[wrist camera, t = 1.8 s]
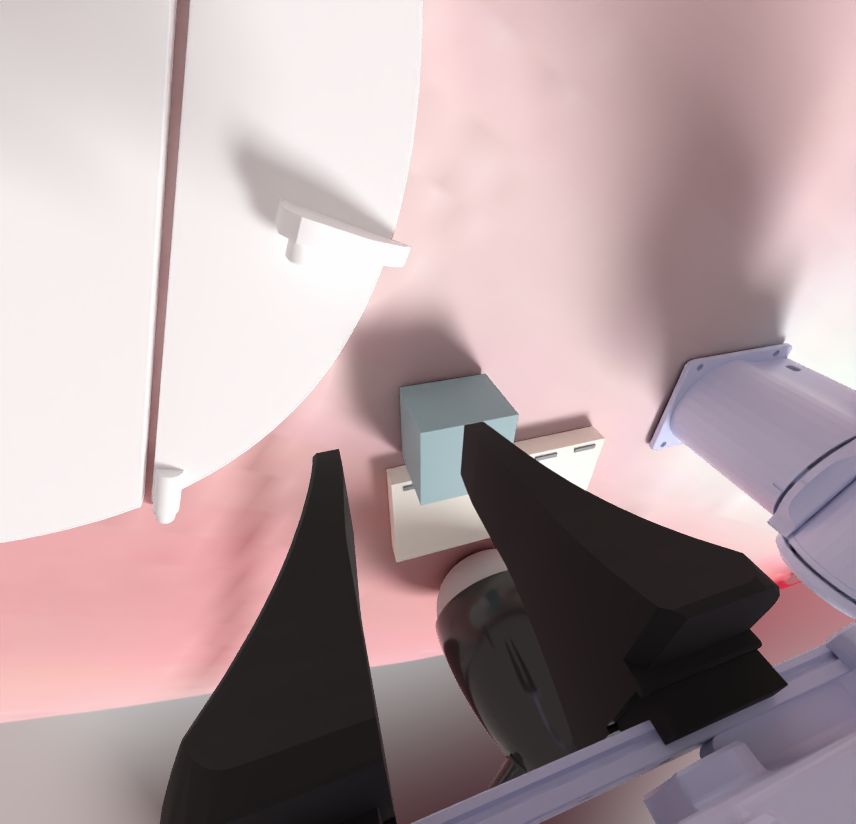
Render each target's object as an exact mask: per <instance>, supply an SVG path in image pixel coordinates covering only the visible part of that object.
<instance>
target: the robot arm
mask: <svg viewBox="0 0 856 824" xmlns="http://www.w3.org/2000/svg"><path fill="white" fill-rule="evenodd" d="M791 350H792V346H791V345H789V344H787V343H785V344H779V345H773V346H767V347H762V348H756V349H750V350H745V351H739V352H733V353H727V354H722V355H716V356H710V357H704V358H699V359H693V360H690V361H689V362H687V364H686V365H685V366H684V369H683V371H682V373H681V375H680V378H679V380H678V382H677V384H676V386H675V389H674V391H673V393H672V395H671V398H670V400H669V402H668V404H667V406H666V409H665V411H664V413H663V415H662V418H661V420H660V422H659V424H658V427H657V429H656V431H655V433H654V435H653V438H652V440H651V442H650V445H649V446H650V448H651V449H653V450H658V449H662V448H666V447H671V446H675V445H679V444H683V443H684V444H685V445H686V446H688V447H689V448H690V449H691V450H693V451H694V452H695V453H696V454H698V455H699V456H700V457H701V458H703V459H704V460H705V461H706V462H707V463H709V464H710V465H711V466H712V467H714V468H715V469H716V470H717V471H719V472H720V473H721V474H722V475H724V476H725V477H726V478H727V479H729V480H730V481H731V482H732V483H734V484H735V485H736V486H737V487H739V488H740V489H741V490H742V491H744V492H745V493H746V494H747V495H749V496H750V497H751V498H752V499H753V500H755V501H756V502H757V503H758V504H760V505H761V506H762V507H763V508H765V509H766V510H767V511H768V512H770V513H771V514H772V515H773V516H772V517H771V518H770V519H769V520H768V522H767V523H768V524H769V525H770V526H772V527H773V528H774V529H775V530H776V531H778V532H779V534H778V535H777V537H776V544H777V547H778V549H779V551H780V555H781V557H782V559H783V561H784V562H785V564H786V565H787V566H788V568H789V569H790V570H791V571H792V572H793V574H794V575H795V576H796V577H798V579H799V580H800V581H801V582H802V583H804V584H805V585H806V586H807V587H808V588H809V589H810V590H812V591H813V592H814V593H815V594H817V595H818V596H819V597H820V598H822V599H823V600H824V601H826V602H827V603H829V604H830V605H832V606H833V607H835V608H836V609H838V610H839V611H841V612H843V613H844V614H846V615H848V616H850V617H852V618H854V619H855V620H856V391H855V390H853V389H851V388H849V387H847V386H845V385H843V384H841V383H838V382H836V381H834V380H832V379H830V378H828V377H826V376H824V375H822V374H820V373H817V372H815V371H813V370H811V369H809V368H807V367H805V366H803V365H801V364H799V363H796V362H794V361H792V360H790V359H788V358H787V356H788V355H789V353H790V351H791ZM460 474H461V477H462V480H463V482H464V485H465V488H466V490H467V493H468V495H469V498H470V500H471V503H472V505H473V506H474V508H475V510H476V512H477V514H478V516H479V518H480V520H481V521H482V523H483V525H484V527H485V529H486V531H487V532H488V534H489V536H490V538H491V540H492V541H493V543H494V545H495V547H496V549H497V551H498V552H499V554H500V556H501V558H502V560H503V561H504V563H505V565H506V567H507V569H508V571H509V573H510V575H511V577H512V579H513V582H514V584H515V586H516V589H517V591H518V593H519V596H520V598H521V600H522V603H523V605H524V607H525V610H526V612H527V615H528V617H529V620H530V622H531V625H532V627H533V630H534V632H535V635H536V637H537V640H538V642H539V645H540V647H541V650H542V653H543V655H544V658H545V661H546V663H547V666H548V669H549V671H550V674H551V677H552V679H553V682H554V685H555V688H556V691H557V694H558V696H559V699H560V702H561V705H562V708H563V711H564V714H565V717H566V719H567V722H568V725H569V729H570V732H571V735H572V738H573V741H574V743H575V745H576V747H577V749H578V751H576V752H574V753H572V754H569V755H567V756H565V757H563V758H560V759H558V760H556V761H553V762H551V763H549V764H546V765H544V766H542V767H540V768H537V769H535V770H533V771H530V772H528V773H526V774H523V775H521V776H519V777H517V778H514V779H512V780H510V781H507V782H505V783H503V784H500V785H498V786H496V787H494V788H491V789H489V790H487V791H484V792H482V793H480V794H478V795H475V796H473V797H471V798H468V799H466V800H464V801H461V802H459V803H457V804H455V805H452V806H450V807H448V808H445V809H443V810H441V811H438V812H436V813H434V814H432V815H429V816H427V817H425V818H422V819H420V820H418V821H415V822H413V823H411V824H539V823H540V822H543V821H545V820H547V819H549V818H551V817H553V816H555V815H558V814H560V813H562V812H564V811H566V810H568V809H570V808H572V807H574V806H577V805H579V804H581V803H583V802H585V801H587V800H589V799H591V798H594V797H595V796H598V795H600V794H602V793H604V792H606V791H608V790H610V789H613V788H615V787H617V786H619V785H621V784H623V783H625V782H627V781H629V780H632V779H634V778H636V777H638V776H640V775H642V774H644V773H646V772H648V771H651V770H653V769H655V768H657V767H659V766H661V765H663V764H665V763H667V762H670V761H671V760H674V759H676V758H678V757H680V756H682V755H684V754H686V753H688V752H691V751H693V750H695V749H697V748H699V747H701V746H702V747H701V748H700V757H701V759H700V760H698V761H697V762H695V763H693V764H691V765H689V766H687V767H686V768H684V769H682V770H680V771H678V772H677V773H675V774H674V775H673V776H672V777H671V778H670V779H669V780H667V781H666V782H664V783H663V784H662V785H660V786H658V787H657V788H655V789H654V790H652V791H650V792H649V793H647V794H646V795H644V803H645V804H646V806H647V808H648V810H649V812H650V814H651V815H652V817H653V819H654V821H655V823H656V824H856V622H854V623H852V624H849V625H847V626H846V627H844V628H842V629H841V630H839V631H838V632H836V633H835V634H833V635H832V636H831V637H830V638H829V639H827V640H826V643H825V644H822V645H820V646H818V647H815V648H813V649H811V650H808V651H806V652H804V653H802V654H799V655H797V656H795V657H792V658H790V659H788V660H786V661H783V662H781V663H779V664H776V665H774V666H771V665H770V663H769V662H768V661H767V660H766V659H765V658H764V657H763V656H762V654H761V653H760V652H759V651H758V650H757V649H758V648H760V647H761V646H762V643H761V641H760V640H759V639H758V638H757V636H756V635H755V634H754V633H753V632H752V631H751V630H750V628H751V627H752V626H753V625H754V624H755V623H756V622H757V621H758V620H759V619H760V618H761V617H762V616H763V615H764V614H765V613H766V612H767V611H768V610H769V609H770V608H771V607H772V606H773V605H774V604H775V602H776V601H777V600H778V598H779V596H780V594H779V586H778V585H776V584H775V583H774V582H773V581H772V580H771V579H770V578H769V577H768V576H767V575H766V574H765V573H764V572H763V571H762V570H760V569H759V568H758V567H757V566H756V565H755V564H754V563H753V562H752V561H751V560H750V559H749V558H748V557H747V556H745V555H744V554H743V553H740V552H737V551H734V550H731V549H728V548H725V547H721V546H718V545H715V544H712V543H709V542H705V541H702V540H699V539H696V538H693V537H690V536H687V535H685V534H682V533H679V532H677V531H674V530H671V529H669V528H666V527H663V526H661V525H658V524H656V523H653V522H651V521H648V520H646V519H644V518H641V517H639V516H637V515H635V514H632V513H630V512H628V511H626V510H623V509H621V508H619V507H617V506H615V505H613V504H611V503H609V502H607V501H605V500H603V499H601V498H599V497H597V496H595V495H593V494H591V493H589V492H588V491H586V490H584V489H582V488H580V487H578V486H577V485H575V484H573V483H572V482H570V481H568V480H567V479H565V478H563V477H562V476H560V475H559V474H557V473H555V472H554V471H552V470H551V469H549V468H548V467H546V466H544V465H543V464H541V463H540V462H539V461H537V460H536V459H534V458H533V457H531V456H530V455H528V454H527V453H526V452H524V451H523V450H521V449H520V448H519V447H517V446H516V445H515V444H513V443H512V442H510V441H509V440H508V439H506V438H505V437H504V436H502V435H501V434H500V433H498V432H497V431H496V430H494V429H493V428H492V427H490V426H489V425H487V424H486V423H485V422H478V423H472V424H467V425H464V435H463V448H462V460H461V473H460ZM160 824H397V823H396V818H395V812H394V803H393V798H392V792H391V787H390V781H389V775H388V769H387V763H386V758H385V753H384V747H383V741H382V735H381V730H380V724H379V718H378V713H377V707H376V701H375V695H374V690H373V684H372V678H371V673H370V667H369V661H368V655H367V650H366V644H365V638H364V633H363V627H362V620H361V612H360V603H359V591H358V580H357V568H356V557H355V545H354V534H353V527H352V521H351V515H350V509H349V503H348V497H347V491H346V485H345V479H344V473H343V467H342V462H341V457H340V452H339V449H337V450H331V451H326V452H321V453H316V454H315V455H314V457H313V465H312V473H311V479H310V484H309V488H308V493H307V497H306V500H305V504H304V507H303V511H302V515H301V518H300V521H299V524H298V527H297V530H296V532H295V535H294V538H293V541H292V544H291V546H290V549H289V552H288V554H287V557H286V559H285V561H284V564H283V566H282V569H281V571H280V573H279V575H278V578H277V580H276V582H275V584H274V586H273V588H272V590H271V592H270V594H269V596H268V598H267V600H266V602H265V604H264V606H263V608H262V610H261V612H260V614H259V616H258V618H257V620H256V622H255V624H254V626H253V627H252V629H251V631H250V633H249V634H248V636H247V638H246V640H245V641H244V643H243V645H242V646H241V648H240V650H239V652H238V653H237V655H236V657H235V658H234V660H233V662H232V664H231V665H230V667H229V669H228V670H227V672H226V674H225V675H224V677H223V678H222V680H221V682H220V683H219V685H218V686H217V688H216V689H215V691H214V692H213V694H212V695H211V697H210V699H209V700H208V701H207V703H206V704H205V706H204V707H203V709H202V710H201V712H200V713H199V715H198V717H197V718H196V719H195V721H194V723H193V724H192V725H191V727H190V728H189V730H188V732H187V733H186V734H185V736H184V738H183V739H182V741H181V744H180V747H179V750H178V753H177V756H176V759H175V762H174V765H173V768H172V772H171V775H170V779H169V782H168V786H167V790H166V794H165V798H164V802H163V807H162V812H161V820H160Z"/></svg>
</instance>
